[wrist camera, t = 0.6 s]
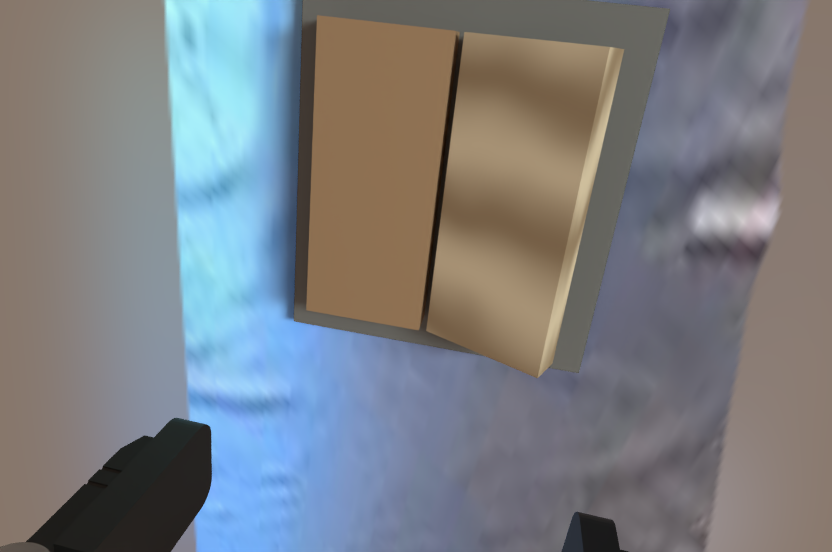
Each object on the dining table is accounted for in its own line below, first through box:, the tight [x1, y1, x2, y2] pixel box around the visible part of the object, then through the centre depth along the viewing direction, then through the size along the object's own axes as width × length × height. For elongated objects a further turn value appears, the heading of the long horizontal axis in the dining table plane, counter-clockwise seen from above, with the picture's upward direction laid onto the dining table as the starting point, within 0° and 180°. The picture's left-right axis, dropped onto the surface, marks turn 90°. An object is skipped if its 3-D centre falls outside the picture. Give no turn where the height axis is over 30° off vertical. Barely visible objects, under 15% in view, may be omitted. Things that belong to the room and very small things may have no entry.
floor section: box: [294, 0, 670, 373], centre depth 31 cm, size 20×18×3 cm
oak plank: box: [426, 32, 624, 378], centre depth 29 cm, size 16×7×2 cm, turn 174°
